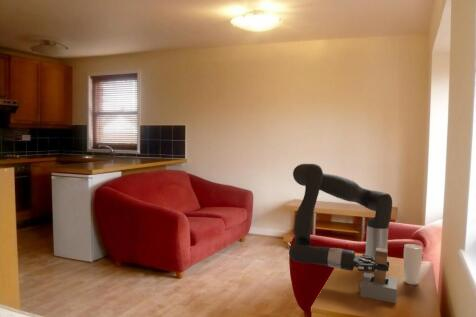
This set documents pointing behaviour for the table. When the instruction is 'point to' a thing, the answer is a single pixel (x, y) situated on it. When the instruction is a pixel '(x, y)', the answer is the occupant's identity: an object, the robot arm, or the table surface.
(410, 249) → the drinking glass
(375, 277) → the tall brown pillar
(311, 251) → the robot arm
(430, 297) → the table surface
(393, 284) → the box
